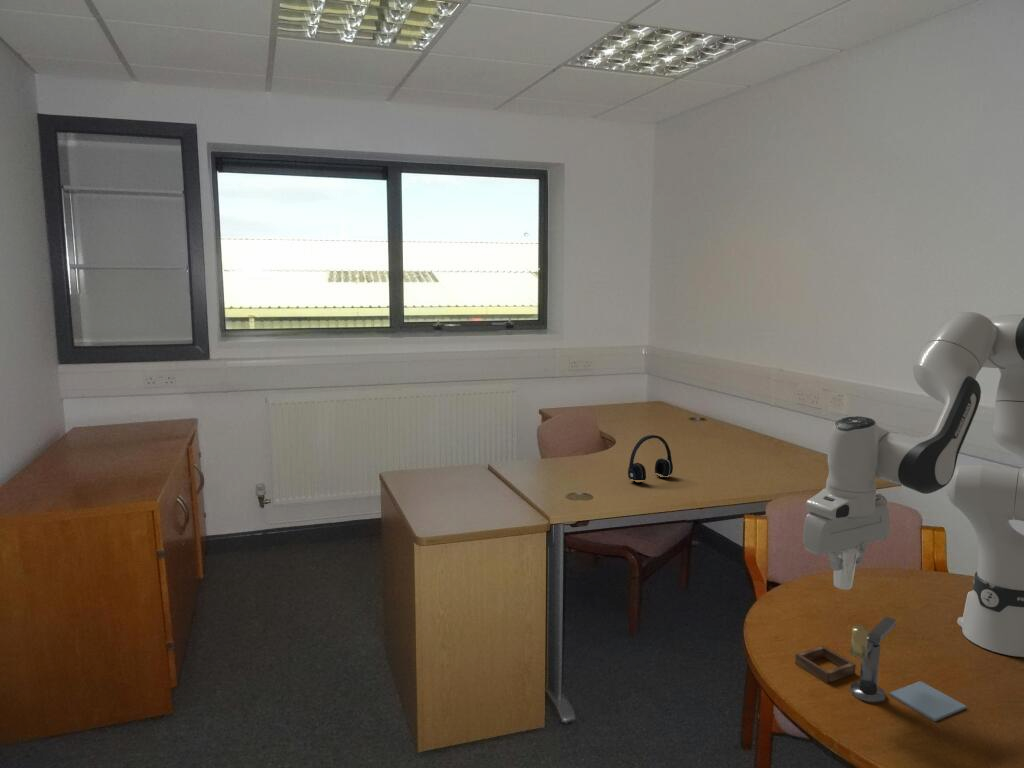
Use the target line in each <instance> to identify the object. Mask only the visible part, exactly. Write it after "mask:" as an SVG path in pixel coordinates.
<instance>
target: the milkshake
mask: <svg viewBox="0 0 1024 768" xmlns="http://www.w3.org/2000/svg"><path fill="white" fill-rule="evenodd" d="M863 542H864V541H863ZM862 544H863V543H862ZM862 544H861V545H862ZM861 545H860V547H861ZM860 547H859V548H860ZM858 550H859V549H858V548H857V547H852V548H848V549H844V550H840V555H838V558H839V560H840V561H842V562H843V565H842V567H843V568H842V569H841V570H838V571H835V570H833V586H834V587H835V588H838V589H839V590H844V591H846V590H851V589H852V588H853V583H854V578H855V577H854V576H855V571H856V566H857V565H856V560H857V555H858ZM855 565H856V566H855Z"/></svg>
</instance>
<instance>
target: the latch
mask: <svg viewBox="0 0 1024 768" xmlns="http://www.w3.org/2000/svg"><path fill="white" fill-rule="evenodd" d="M897 621H898V620H897V619H895V618H892V617H888V616H885V617H884V618H882V619H881V621H879V623H878V624H877V625H876V626H875V627H874V628H873V629H872V630H871V631H870V632H869V628H867V627H865V626H863V625H853V626H852V629H851V642H850V655H851V656H853V657H854V658H858V659H863V658H866V655H867V654H868V653H869V652H870V650H871V649H872V648H873V647H878V646H880V647H881V642H882V641H883V639H884V638H886V636H887V635H888V634H889V633H890V632H891V631H892V630H893V629H894V627H895V626H897Z"/></svg>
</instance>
